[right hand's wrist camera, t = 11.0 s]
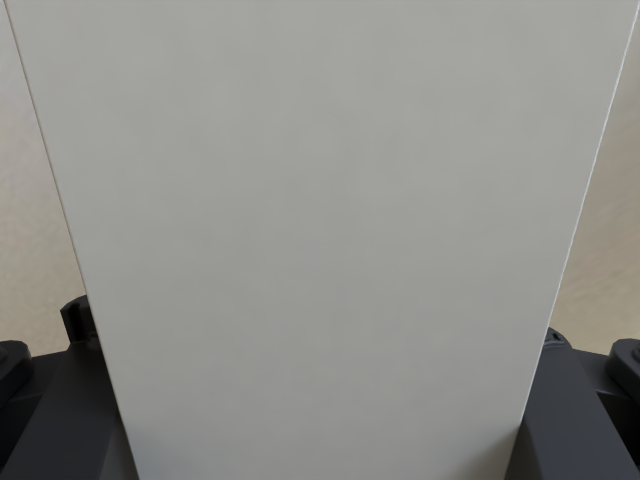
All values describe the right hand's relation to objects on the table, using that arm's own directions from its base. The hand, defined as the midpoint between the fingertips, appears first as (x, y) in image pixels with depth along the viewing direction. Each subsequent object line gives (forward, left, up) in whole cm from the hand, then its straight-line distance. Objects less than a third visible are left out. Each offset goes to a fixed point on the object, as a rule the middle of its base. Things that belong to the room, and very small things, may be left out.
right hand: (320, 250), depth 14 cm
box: (+4, +7, -1) cm, 8 cm away
